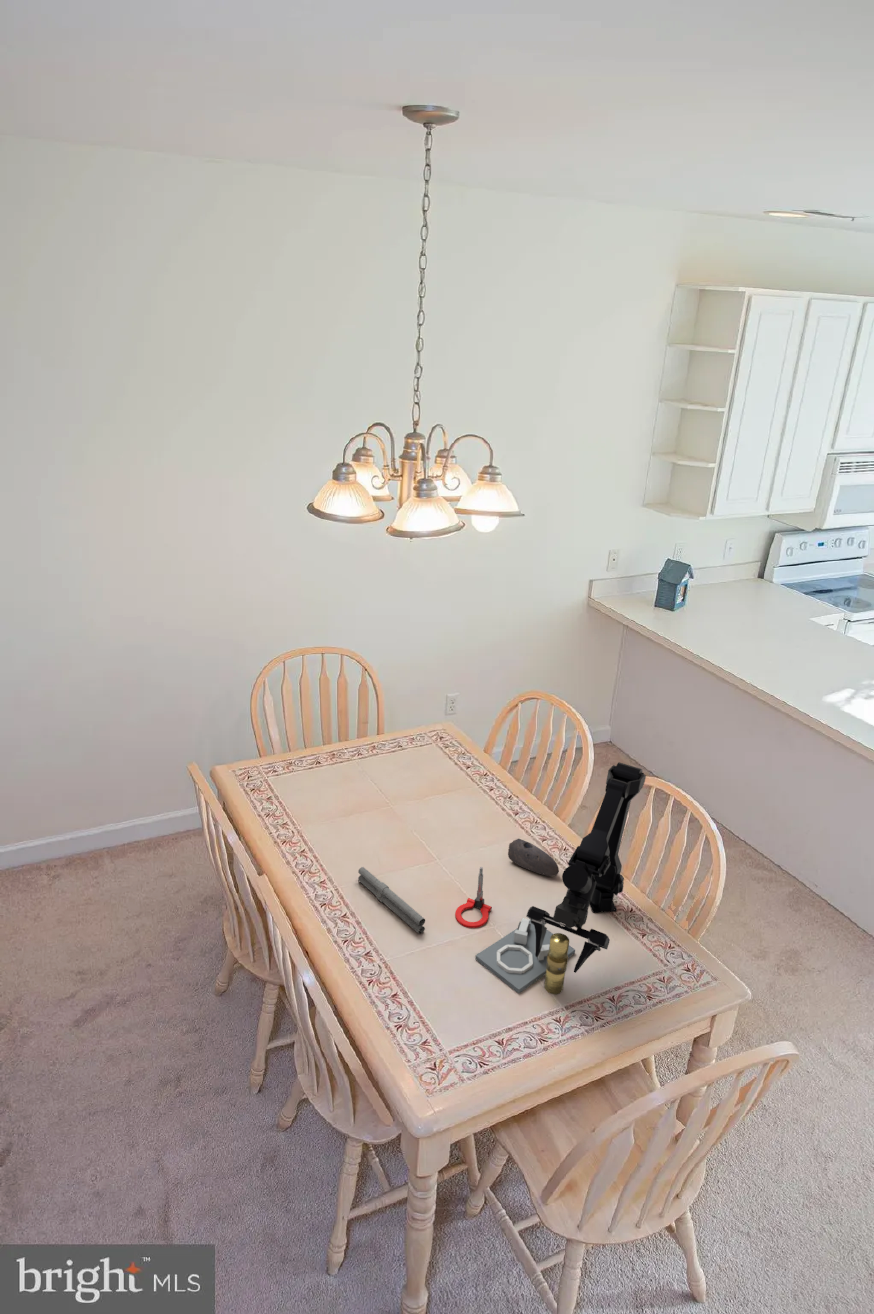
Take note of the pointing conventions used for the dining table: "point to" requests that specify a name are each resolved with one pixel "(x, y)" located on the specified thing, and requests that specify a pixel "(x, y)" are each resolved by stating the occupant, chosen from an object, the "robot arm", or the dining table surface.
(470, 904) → the tow hook
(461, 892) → the dining table surface
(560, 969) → the coupler
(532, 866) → the perforated stone tool
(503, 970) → the base
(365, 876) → the metal rod assembly
